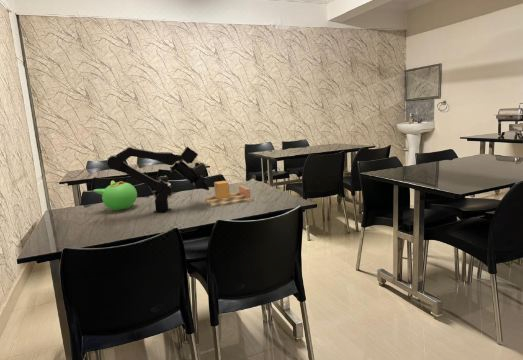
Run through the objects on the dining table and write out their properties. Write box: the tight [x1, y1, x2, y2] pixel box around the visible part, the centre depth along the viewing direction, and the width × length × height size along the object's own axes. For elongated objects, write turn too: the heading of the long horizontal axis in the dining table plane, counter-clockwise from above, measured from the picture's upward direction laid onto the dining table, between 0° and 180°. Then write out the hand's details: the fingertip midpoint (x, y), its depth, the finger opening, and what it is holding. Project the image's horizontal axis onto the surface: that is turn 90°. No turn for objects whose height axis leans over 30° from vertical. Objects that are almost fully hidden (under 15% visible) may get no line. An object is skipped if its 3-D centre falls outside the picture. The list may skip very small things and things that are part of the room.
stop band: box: [238, 184, 251, 199], centre depth 196 cm, size 2×12×5 cm, turn 23°
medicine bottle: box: [156, 175, 173, 199], centre depth 210 cm, size 7×7×12 cm
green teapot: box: [93, 180, 138, 211], centre depth 188 cm, size 18×17×15 cm
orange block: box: [213, 180, 231, 199], centre depth 191 cm, size 6×6×9 cm
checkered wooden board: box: [203, 191, 254, 208], centre depth 193 cm, size 22×14×3 cm, turn 113°
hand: (208, 189), depth 188 cm, fingers closed
